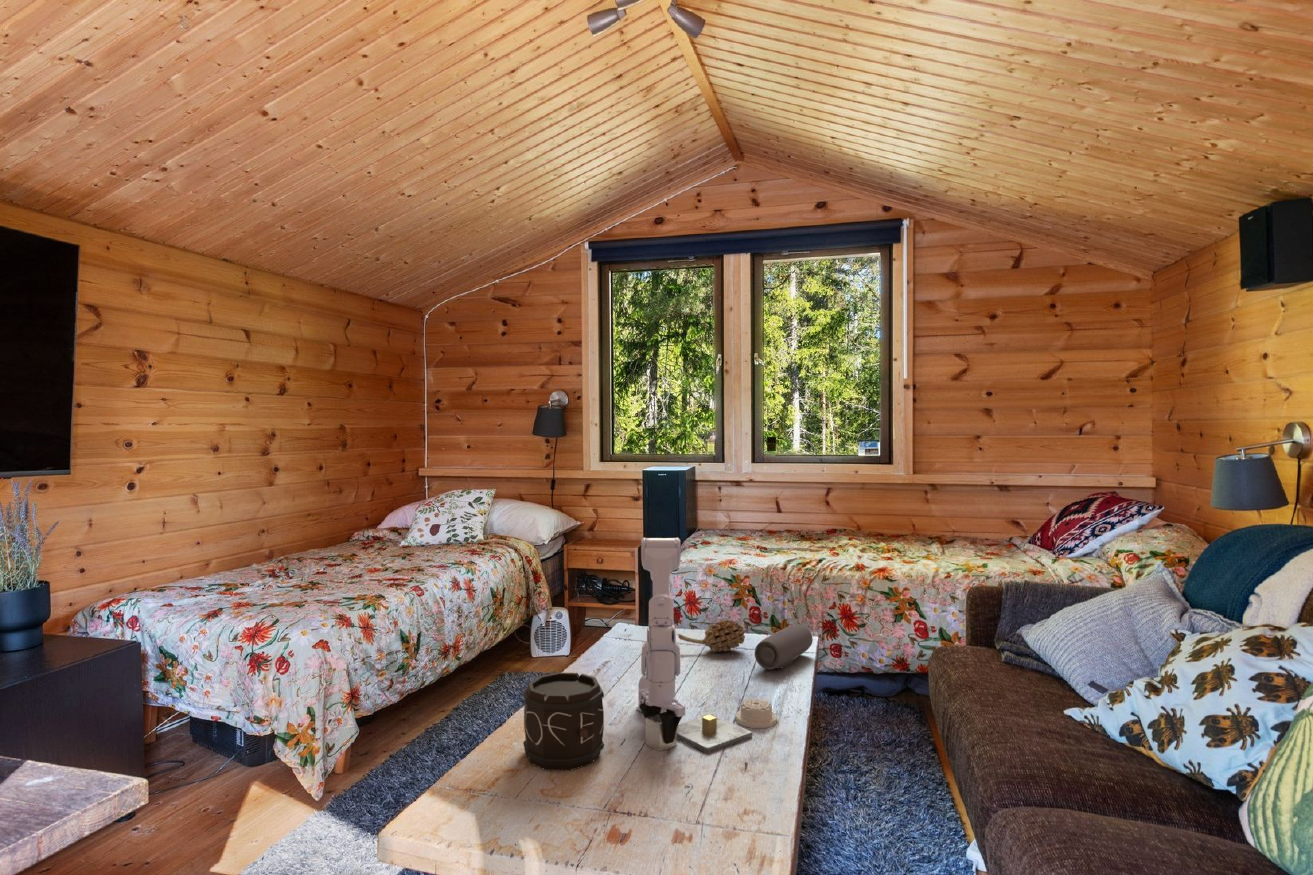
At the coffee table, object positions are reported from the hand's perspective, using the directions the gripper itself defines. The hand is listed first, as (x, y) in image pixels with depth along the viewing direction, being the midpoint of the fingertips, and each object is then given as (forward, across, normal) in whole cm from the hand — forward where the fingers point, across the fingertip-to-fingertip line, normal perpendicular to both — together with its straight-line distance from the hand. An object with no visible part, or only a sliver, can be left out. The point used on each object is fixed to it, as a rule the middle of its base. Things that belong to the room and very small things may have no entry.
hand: (661, 738), depth 173 cm
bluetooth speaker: (+2, -22, +66) cm, 69 cm away
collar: (+1, 0, 0) cm, 1 cm away
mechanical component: (+2, +4, +27) cm, 27 cm away
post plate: (+1, +3, +12) cm, 12 cm away
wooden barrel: (+2, -9, -20) cm, 22 cm away
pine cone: (+2, -44, +56) cm, 71 cm away
